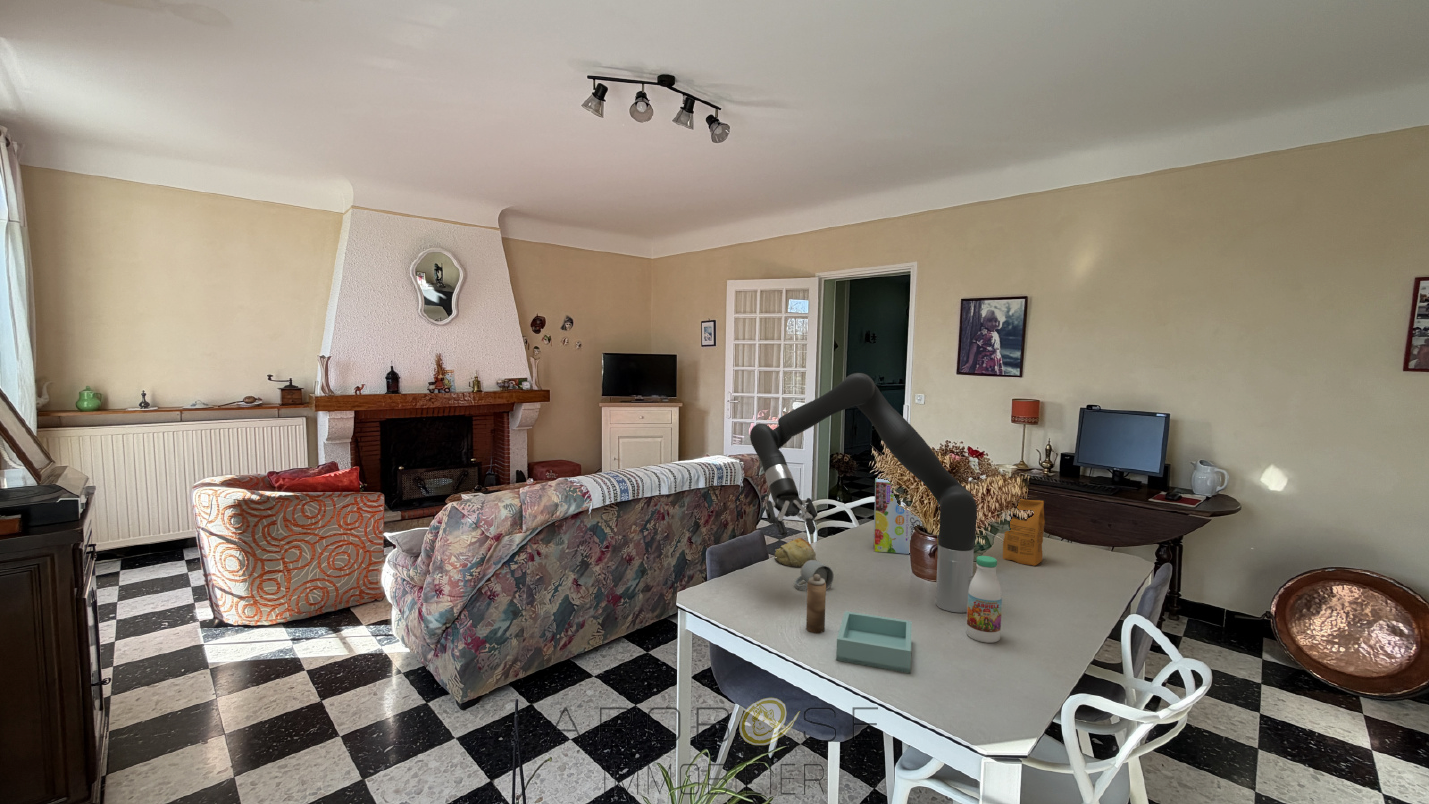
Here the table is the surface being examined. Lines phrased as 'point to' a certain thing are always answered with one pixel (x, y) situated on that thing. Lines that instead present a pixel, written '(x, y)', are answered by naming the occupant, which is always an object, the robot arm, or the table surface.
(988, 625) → the milk bottle
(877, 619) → the bin
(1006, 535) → the coffee package
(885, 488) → the snack box
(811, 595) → the pepper mill
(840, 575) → the table surface
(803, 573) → the ceramic mug
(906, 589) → the table surface
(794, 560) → the pastry
